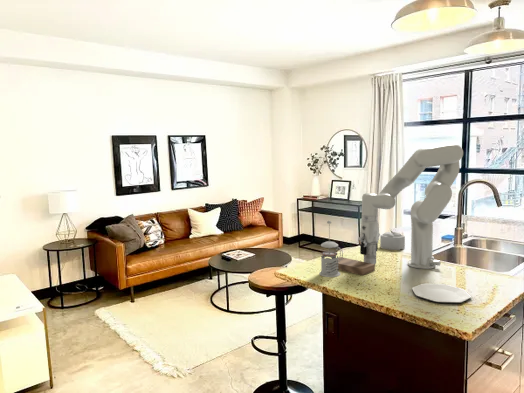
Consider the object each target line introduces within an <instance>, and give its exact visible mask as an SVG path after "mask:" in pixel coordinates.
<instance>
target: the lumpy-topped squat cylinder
mask: <svg viewBox="0 0 524 393" xmlns="http://www.w3.org/2000/svg"><path fill="white" fill-rule="evenodd" d="M405 240H406V238H405V235H404V234H402V233H400V232H396V231H393V232H391V231H386V232H384V233H382V234H380V236H379V241H380V243H379V244H380V246H379V247H381V248H380V249H383V250H392V251H401V250H400V249H403V250H405V248H406V246H405V245H406V241H405Z"/></svg>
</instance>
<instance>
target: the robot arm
mask: <svg viewBox="0 0 524 393" xmlns="http://www.w3.org/2000/svg"><path fill="white" fill-rule="evenodd" d="M463 156H464V150H463V148H462V147H461V146H460V145H459V144H456V143H446V144H442V145H441V146H440V145H439V146H435V147H430V148H419V149H417V150H415V151H414V152H413V154H412V155H411V156H410V157H409V158H408V160H407V161H406V162H405V163H404V165H402V167H401V168H400V169H399V170H398V172H397V173H396V174H395V175H394V176H393V177H392V178H391V179H390V180H389V181H388V182H387V184H386V185H385V186H384V187H382V188H383V189H381V190H380V192H379V193H378V194H377V193H374V192H372V193H371V192H369V193H368V192H366V193H363V194H362V196H361V197H362V198H361V226H360V236H359V237H358V239H357V240H358V244H359V246H360V248H359V249H360V250H359V251H360V255H363V256H364V255H366V254H367V247H366V245H367V243H371V242H373V238H374V237H375V238H376V252H378V246H379V241H380V235H381V234H380V225H379V220H378V216H379V209H380V210H391V209H393V208H394V207H395V205H396V202H397V201H396V197H397V196H398V195H399V194H400V193H401V192H402V191H403V190H404V189H406V188H407V187H409V186H411V185H412V184H413V183H414V182H416V180H417V179H418V178H419V176H420V175H421V174H422V173H423V172H424V171H425V169H426V168H431V167H438V166H439V168H438V170H437V172H436V174H435V175H434V176H433V178H432V179H431V181H429V183H428V185H427V186H426V188H425V191H424V195H425V197H424V199H423V200H417V201H415V202H413V204H412V205H411V207H410V224H411V228H410V230H411V234H410V236H411V238H410V239H411V240H410V241H411V242H410V260H408V261H407V265H408V266H409V267H411V268H415V269H422V270H424V269H425V270H429V269H434V268H436V266H439V267H440V266H441V260H437V259H436V258H435V256H433V248H434V247H433V242H434V241H433V240H434V238H433V237H434V236H433V234H434V226H433V225H434V222H435V221H436V220H438V218H439V217H440V215H441V214H442V213H443V212H444V210H445V209H446V208H447V205H448V204H449V203H450V201H451V199H452V197H453V190H452V185H453V184H454V182H455V180H456V179H457V177H458V175H459V173H460V167H461V165H460V161H461V159H462V158H463ZM365 240H366V241H365ZM364 242H365V243H364Z"/></svg>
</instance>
